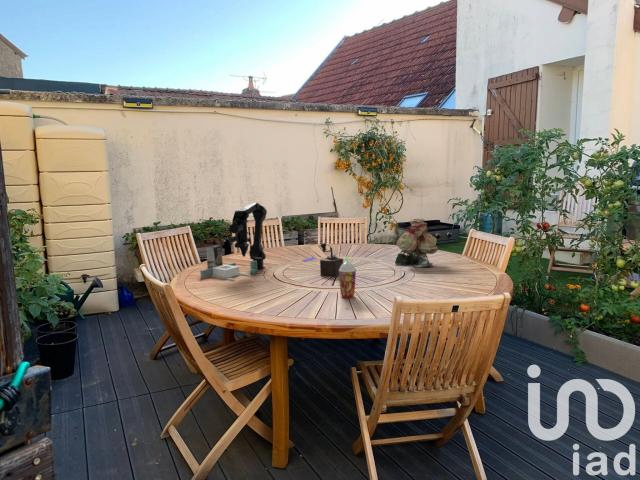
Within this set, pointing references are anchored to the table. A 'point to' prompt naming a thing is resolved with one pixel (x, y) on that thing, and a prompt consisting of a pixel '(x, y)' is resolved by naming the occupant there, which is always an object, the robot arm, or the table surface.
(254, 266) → the dowel
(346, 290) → the smoothie
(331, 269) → the black box with stems
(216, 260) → the coffee box
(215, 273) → the socket block
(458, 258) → the table surface
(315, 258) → the booklet
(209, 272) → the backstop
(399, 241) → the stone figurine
